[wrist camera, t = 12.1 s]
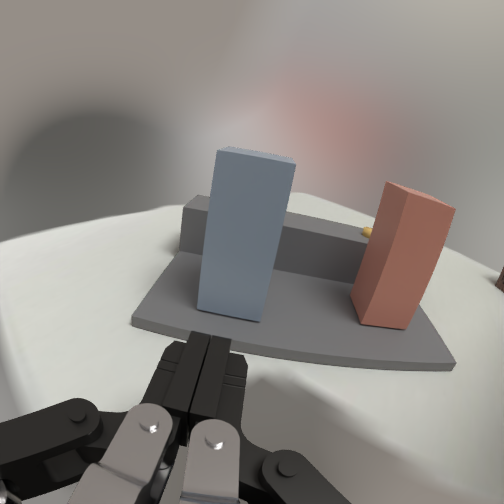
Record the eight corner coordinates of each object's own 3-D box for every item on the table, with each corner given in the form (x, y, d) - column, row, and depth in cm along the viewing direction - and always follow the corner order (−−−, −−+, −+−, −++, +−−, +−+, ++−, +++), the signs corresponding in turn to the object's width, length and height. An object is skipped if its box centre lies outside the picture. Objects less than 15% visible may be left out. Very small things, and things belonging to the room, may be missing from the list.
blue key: (263, 289, 27) (291, 158, 22) (260, 321, 22) (296, 164, 18) (209, 278, 27) (229, 146, 22) (196, 309, 22) (217, 150, 18)
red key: (390, 301, 29) (429, 195, 24) (406, 329, 24) (455, 208, 19) (349, 294, 29) (386, 180, 24) (361, 323, 24) (408, 192, 19)
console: (392, 277, 38) (408, 232, 35) (451, 370, 20) (487, 310, 18) (193, 238, 38) (199, 187, 35) (132, 326, 20) (129, 244, 18)
